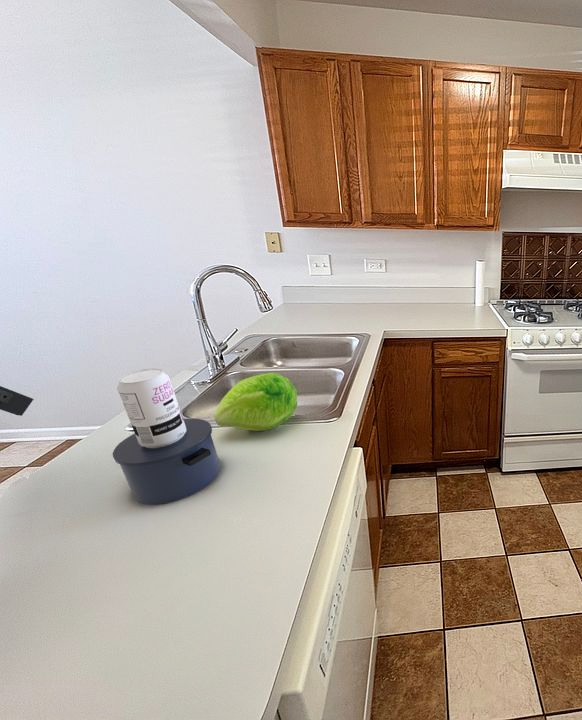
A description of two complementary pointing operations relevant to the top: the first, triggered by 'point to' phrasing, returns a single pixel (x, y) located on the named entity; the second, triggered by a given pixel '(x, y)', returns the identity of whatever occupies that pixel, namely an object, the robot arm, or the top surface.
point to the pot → (170, 465)
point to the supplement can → (152, 407)
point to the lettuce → (257, 403)
